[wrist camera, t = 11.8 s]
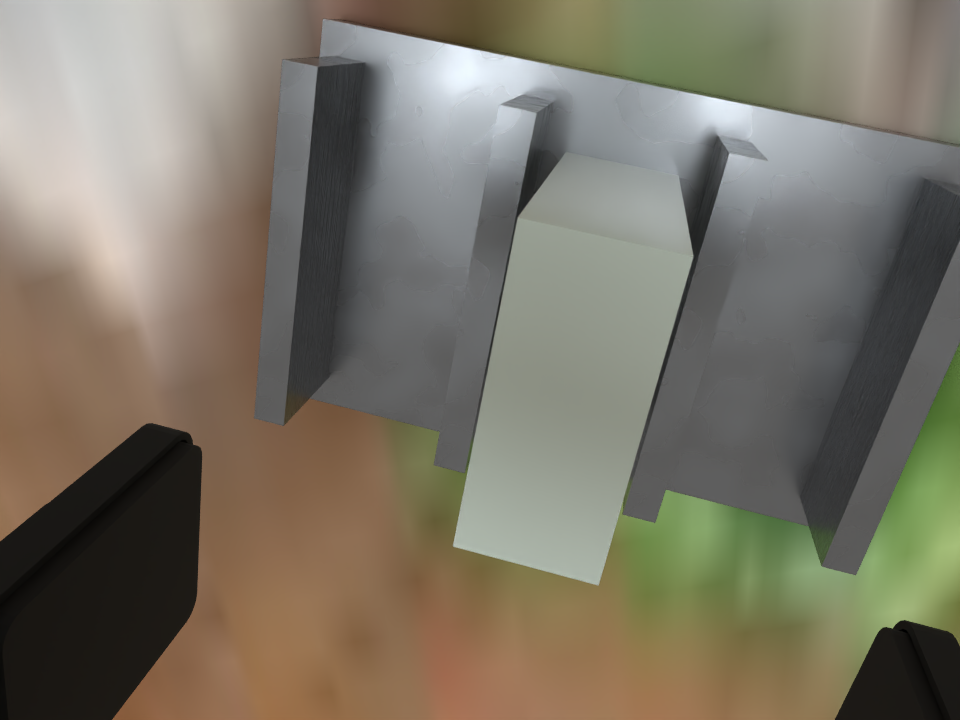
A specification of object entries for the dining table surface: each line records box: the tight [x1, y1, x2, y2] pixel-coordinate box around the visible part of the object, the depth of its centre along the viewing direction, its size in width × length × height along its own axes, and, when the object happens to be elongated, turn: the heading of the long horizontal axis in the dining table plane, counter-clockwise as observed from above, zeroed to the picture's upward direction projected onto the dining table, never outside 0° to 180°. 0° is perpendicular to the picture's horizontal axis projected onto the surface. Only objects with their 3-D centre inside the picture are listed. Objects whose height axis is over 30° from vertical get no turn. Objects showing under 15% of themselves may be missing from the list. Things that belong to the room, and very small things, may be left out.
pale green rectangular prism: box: [453, 152, 693, 585], centre depth 22 cm, size 8×4×10 cm, turn 170°
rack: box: [254, 19, 960, 575], centre depth 26 cm, size 13×20×6 cm, turn 79°
